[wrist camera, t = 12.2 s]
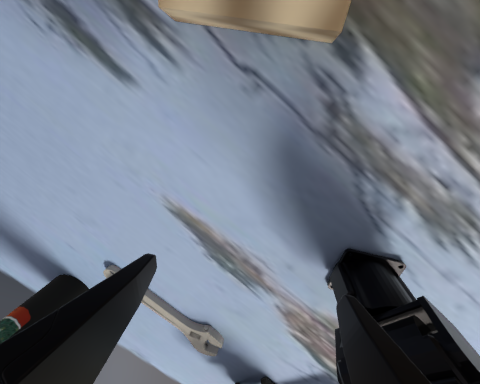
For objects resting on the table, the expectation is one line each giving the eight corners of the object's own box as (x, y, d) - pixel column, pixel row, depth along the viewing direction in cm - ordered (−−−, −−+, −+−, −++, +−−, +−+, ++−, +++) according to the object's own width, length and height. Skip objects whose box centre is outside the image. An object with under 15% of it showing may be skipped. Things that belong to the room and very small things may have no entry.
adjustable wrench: (108, 266, 32) (99, 275, 31) (125, 250, 30) (117, 258, 28) (209, 348, 37) (206, 359, 35) (232, 340, 34) (230, 351, 33)
